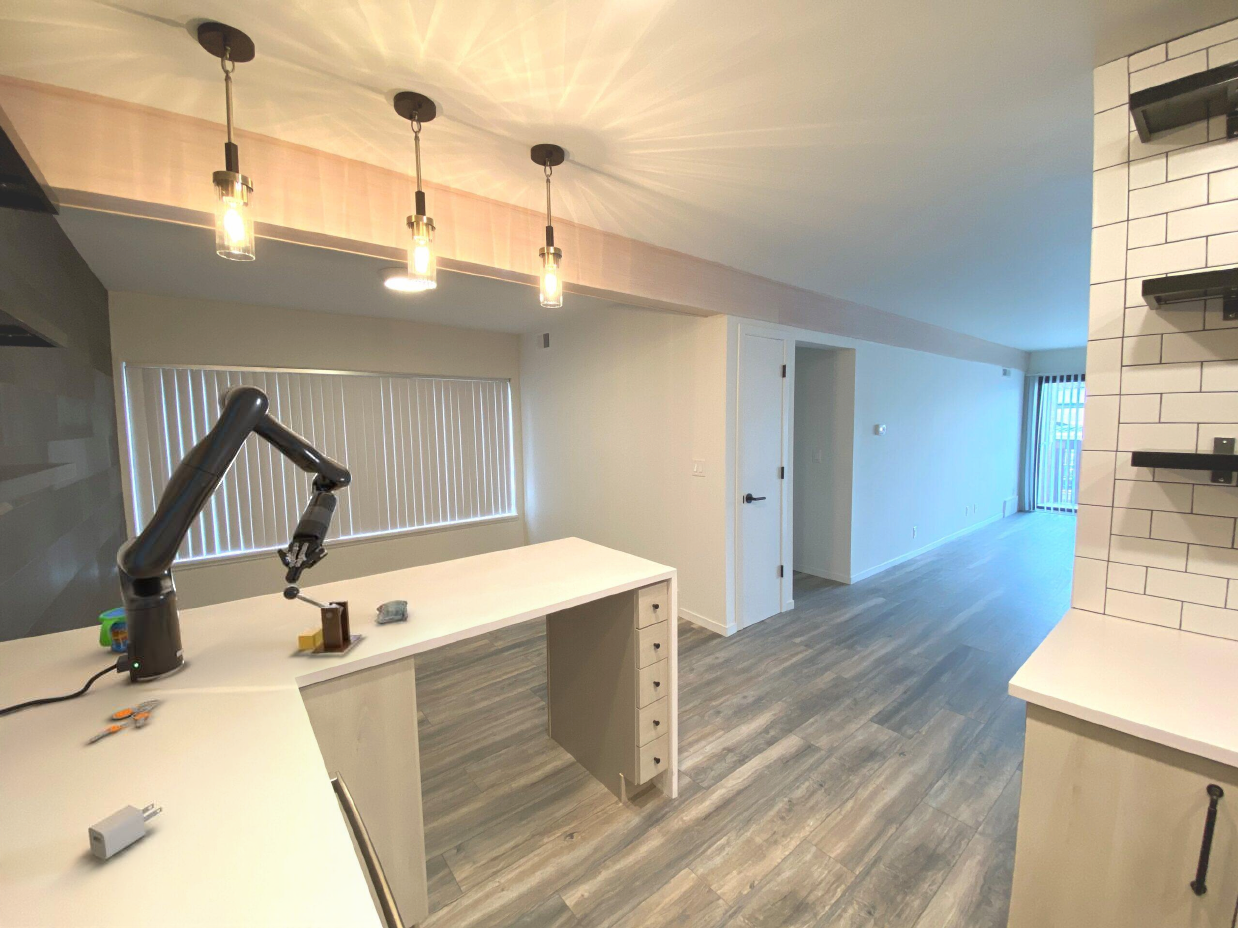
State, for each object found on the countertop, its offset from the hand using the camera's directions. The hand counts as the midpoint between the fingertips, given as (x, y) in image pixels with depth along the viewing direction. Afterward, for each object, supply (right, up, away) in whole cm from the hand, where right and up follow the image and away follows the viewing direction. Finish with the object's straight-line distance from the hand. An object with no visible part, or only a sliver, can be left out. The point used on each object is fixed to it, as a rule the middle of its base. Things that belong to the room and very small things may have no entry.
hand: (290, 582), depth 131 cm
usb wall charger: (+14, -24, -58) cm, 64 cm away
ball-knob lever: (+5, -7, +1) cm, 8 cm away
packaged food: (+17, -16, +20) cm, 31 cm away
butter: (+4, -18, +2) cm, 18 cm away
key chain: (-14, -21, -29) cm, 39 cm away
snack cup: (-46, -19, +5) cm, 50 cm away
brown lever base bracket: (+11, -18, +2) cm, 21 cm away
